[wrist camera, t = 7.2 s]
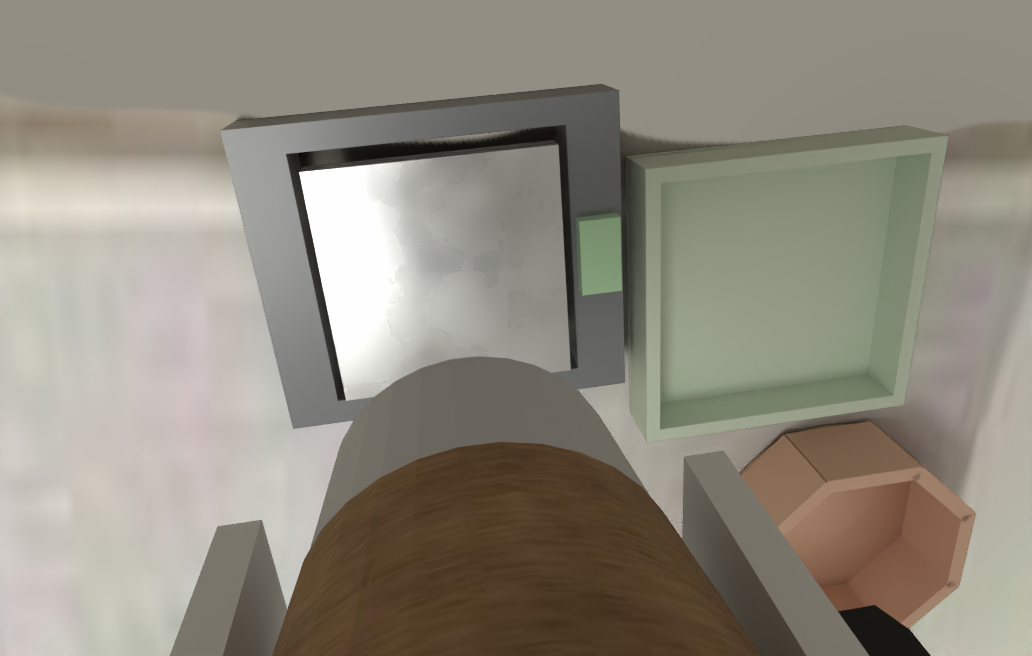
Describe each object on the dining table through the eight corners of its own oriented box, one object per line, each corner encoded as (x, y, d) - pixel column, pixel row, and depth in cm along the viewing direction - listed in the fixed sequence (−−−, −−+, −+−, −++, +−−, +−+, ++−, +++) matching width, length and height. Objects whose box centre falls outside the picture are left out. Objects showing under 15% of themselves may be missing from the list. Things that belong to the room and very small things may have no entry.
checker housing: (301, 398, 32) (290, 436, 29) (235, 120, 27) (216, 133, 24) (610, 357, 33) (628, 389, 30) (601, 84, 28) (623, 92, 25)
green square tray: (630, 412, 34) (646, 442, 32) (625, 156, 29) (645, 169, 27) (869, 377, 36) (904, 405, 33) (905, 125, 30) (948, 135, 28)
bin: (712, 606, 40) (744, 670, 36) (719, 439, 36) (757, 492, 32) (897, 574, 41) (948, 633, 38) (927, 409, 37) (989, 456, 33)
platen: (348, 388, 29) (345, 400, 28) (303, 166, 25) (299, 172, 25) (565, 359, 30) (570, 370, 29) (553, 139, 26) (558, 144, 25)
